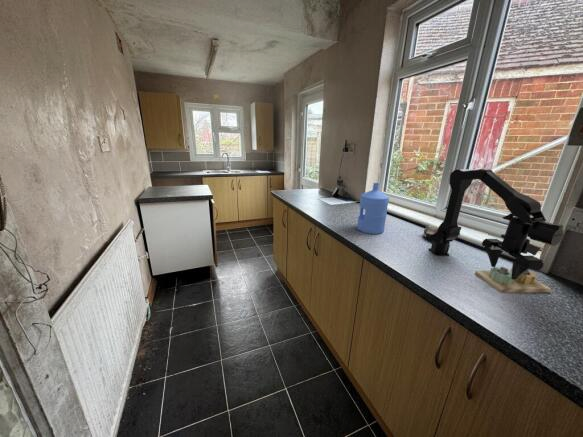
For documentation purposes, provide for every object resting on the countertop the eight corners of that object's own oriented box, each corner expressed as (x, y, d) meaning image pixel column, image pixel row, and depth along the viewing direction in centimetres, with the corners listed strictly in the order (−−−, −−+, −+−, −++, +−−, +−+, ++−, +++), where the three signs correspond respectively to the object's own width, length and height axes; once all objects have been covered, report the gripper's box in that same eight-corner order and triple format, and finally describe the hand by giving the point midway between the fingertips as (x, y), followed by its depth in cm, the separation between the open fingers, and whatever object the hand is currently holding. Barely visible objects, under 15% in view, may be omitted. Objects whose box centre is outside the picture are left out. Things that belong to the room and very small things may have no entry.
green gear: (499, 284, 85) (502, 277, 84) (484, 273, 92) (486, 267, 91) (518, 284, 85) (521, 277, 84) (501, 273, 92) (504, 267, 91)
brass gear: (528, 286, 84) (531, 279, 83) (504, 276, 90) (507, 269, 90) (538, 282, 87) (541, 275, 86) (514, 272, 93) (517, 265, 92)
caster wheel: (441, 248, 123) (420, 242, 127) (442, 237, 131) (422, 231, 135) (446, 239, 119) (424, 232, 123) (447, 228, 127) (426, 222, 131)
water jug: (386, 228, 143) (393, 182, 134) (380, 236, 130) (388, 187, 121) (361, 223, 151) (366, 180, 142) (353, 230, 138) (358, 183, 129)
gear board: (500, 292, 83) (505, 277, 81) (474, 273, 95) (478, 260, 93) (549, 292, 84) (555, 277, 82) (517, 274, 95) (522, 260, 93)
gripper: (568, 245, 74) (550, 287, 79) (514, 225, 92) (502, 260, 97) (534, 245, 74) (518, 287, 79) (486, 225, 92) (475, 260, 97)
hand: (502, 272), depth 88 cm, fingers open, 8 cm apart
